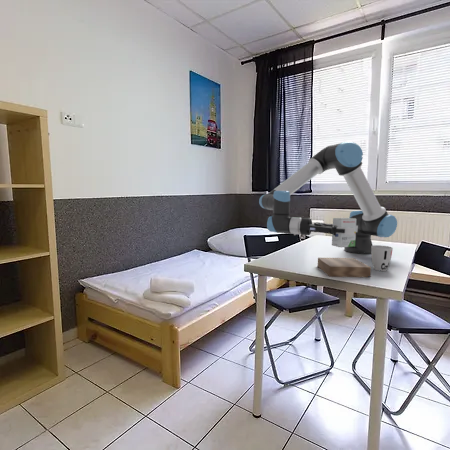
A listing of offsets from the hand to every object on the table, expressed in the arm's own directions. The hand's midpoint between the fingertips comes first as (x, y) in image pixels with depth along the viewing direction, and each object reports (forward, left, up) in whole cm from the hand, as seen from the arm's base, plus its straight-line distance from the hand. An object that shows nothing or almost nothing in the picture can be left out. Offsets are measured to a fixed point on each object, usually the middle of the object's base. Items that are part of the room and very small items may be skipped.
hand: (355, 230), depth 121 cm
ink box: (+4, -2, -7) cm, 8 cm away
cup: (-14, -6, -18) cm, 24 cm away
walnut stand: (+4, -2, -18) cm, 18 cm away
